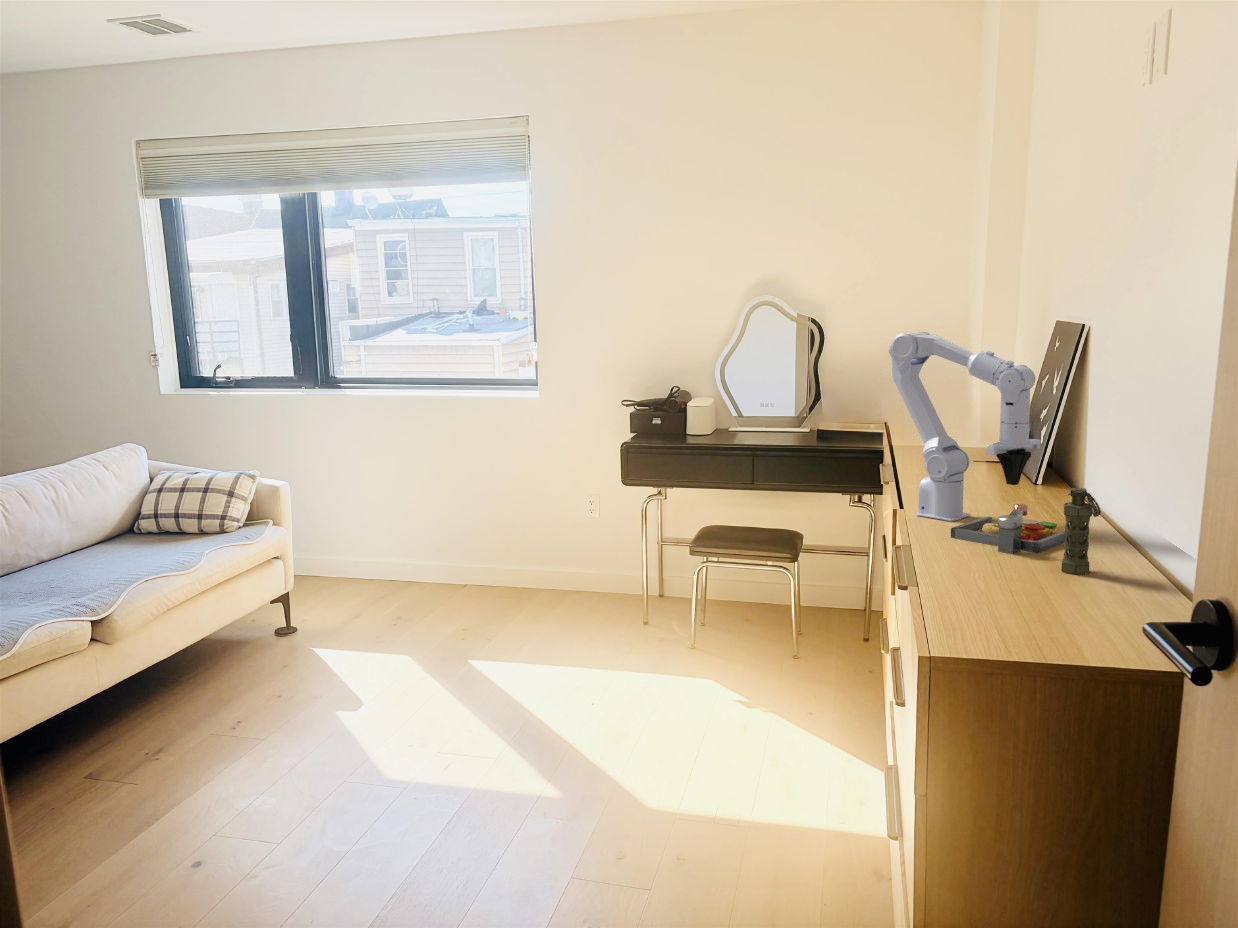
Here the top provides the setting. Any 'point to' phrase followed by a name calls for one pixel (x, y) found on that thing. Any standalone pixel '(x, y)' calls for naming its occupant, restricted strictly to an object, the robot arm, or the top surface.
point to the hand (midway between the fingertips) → (1012, 484)
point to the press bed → (1005, 538)
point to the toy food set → (1026, 529)
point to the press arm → (1013, 517)
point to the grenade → (1078, 531)
